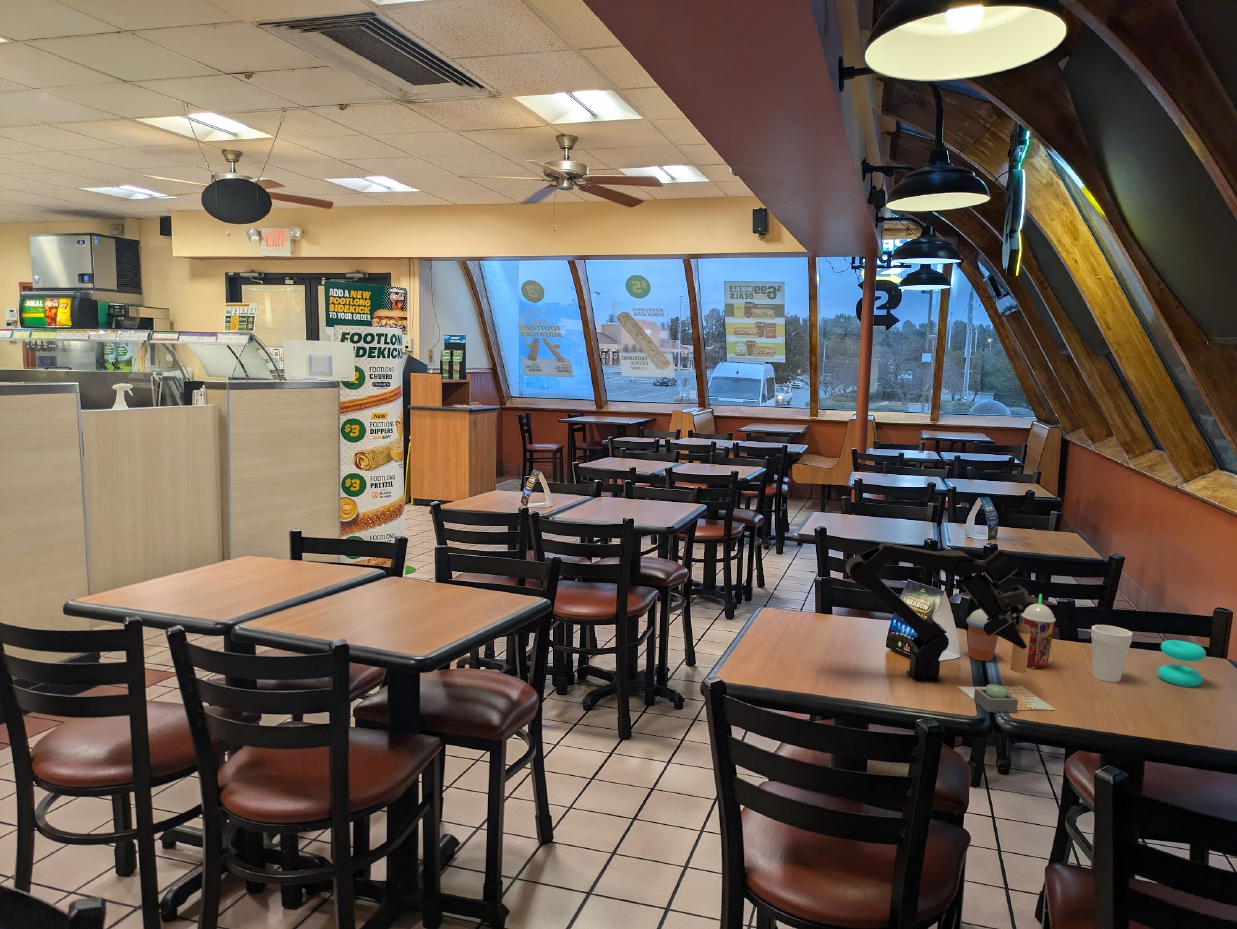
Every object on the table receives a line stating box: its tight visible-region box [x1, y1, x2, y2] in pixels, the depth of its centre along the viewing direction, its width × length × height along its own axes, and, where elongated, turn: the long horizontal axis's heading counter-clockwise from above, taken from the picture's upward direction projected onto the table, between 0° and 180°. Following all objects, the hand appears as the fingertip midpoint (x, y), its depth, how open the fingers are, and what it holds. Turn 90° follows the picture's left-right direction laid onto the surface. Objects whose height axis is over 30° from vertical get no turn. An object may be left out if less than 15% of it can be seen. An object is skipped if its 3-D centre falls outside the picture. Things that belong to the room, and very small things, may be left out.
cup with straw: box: [966, 608, 999, 662], centre depth 238 cm, size 9×9×18 cm
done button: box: [986, 683, 1007, 698], centre depth 204 cm, size 4×4×3 cm
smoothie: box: [1021, 593, 1056, 669], centre depth 233 cm, size 8×8×20 cm
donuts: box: [1157, 639, 1207, 688], centre depth 226 cm, size 10×10×10 cm
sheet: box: [957, 685, 1056, 713], centre depth 208 cm, size 17×16×3 cm
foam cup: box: [1090, 624, 1133, 683], centre depth 226 cm, size 10×9×13 cm
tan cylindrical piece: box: [1009, 623, 1030, 674], centre depth 212 cm, size 4×4×12 cm
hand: (1027, 646), depth 212 cm, fingers closed on tan cylindrical piece, 4 cm apart
